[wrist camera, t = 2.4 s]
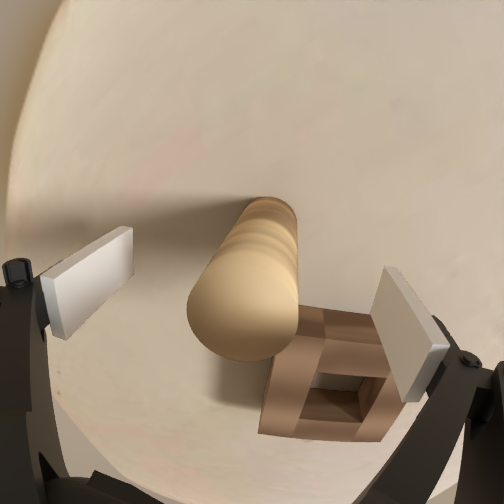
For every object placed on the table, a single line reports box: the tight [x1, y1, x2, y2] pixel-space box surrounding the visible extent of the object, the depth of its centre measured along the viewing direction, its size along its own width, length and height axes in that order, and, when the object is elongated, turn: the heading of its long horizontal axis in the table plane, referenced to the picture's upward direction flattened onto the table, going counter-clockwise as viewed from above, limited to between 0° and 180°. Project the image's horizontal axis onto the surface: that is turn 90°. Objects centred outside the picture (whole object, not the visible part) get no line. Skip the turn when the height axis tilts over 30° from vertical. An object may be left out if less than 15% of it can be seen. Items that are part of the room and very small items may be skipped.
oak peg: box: [187, 197, 298, 362], centre depth 16 cm, size 4×4×12 cm
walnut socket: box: [258, 305, 407, 442], centre depth 24 cm, size 12×12×4 cm
